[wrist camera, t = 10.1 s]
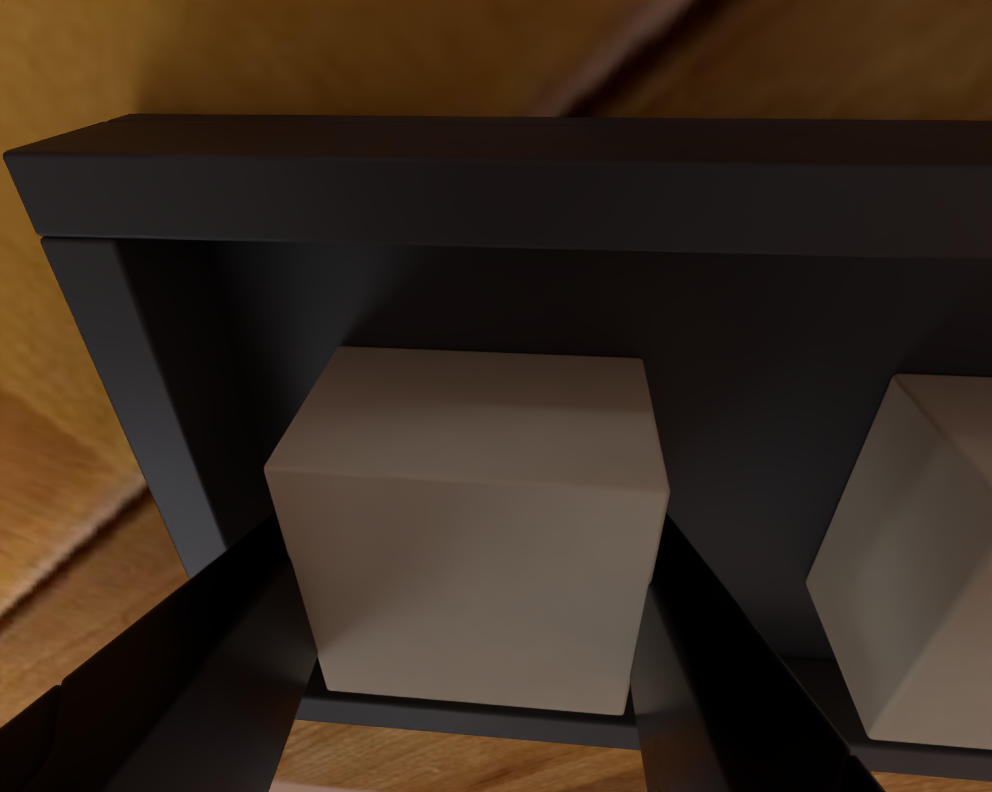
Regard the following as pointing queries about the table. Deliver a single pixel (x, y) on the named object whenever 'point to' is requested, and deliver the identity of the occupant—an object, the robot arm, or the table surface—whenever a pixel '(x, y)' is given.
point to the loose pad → (474, 523)
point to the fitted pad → (916, 566)
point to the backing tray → (534, 317)
